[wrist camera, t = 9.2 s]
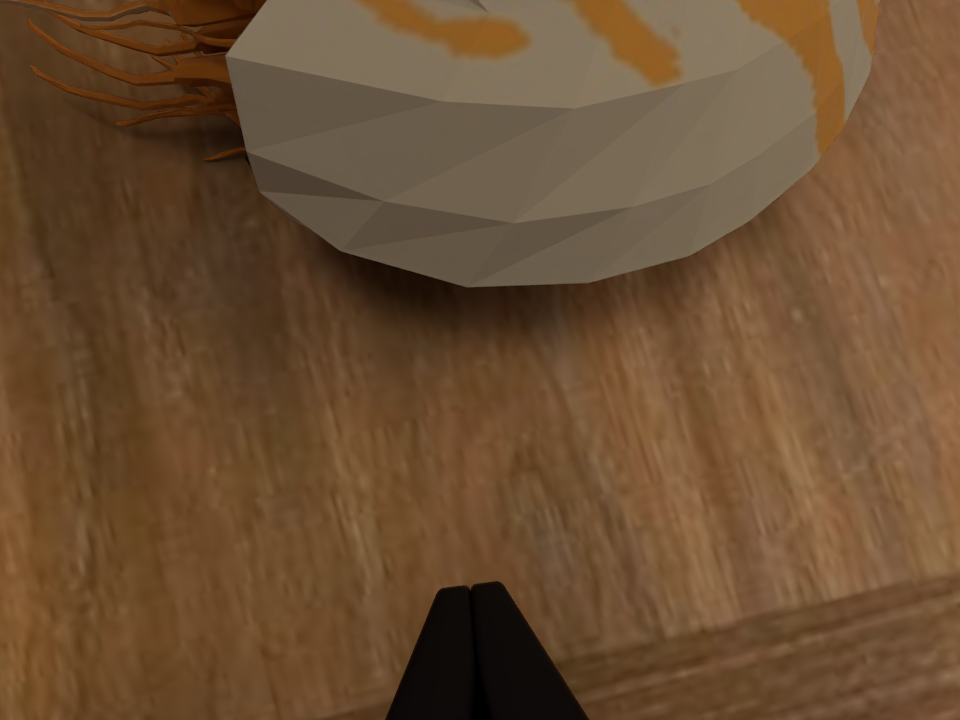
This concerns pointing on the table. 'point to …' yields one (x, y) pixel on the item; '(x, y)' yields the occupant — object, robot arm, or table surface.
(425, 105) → the nautilus
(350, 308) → the table surface
